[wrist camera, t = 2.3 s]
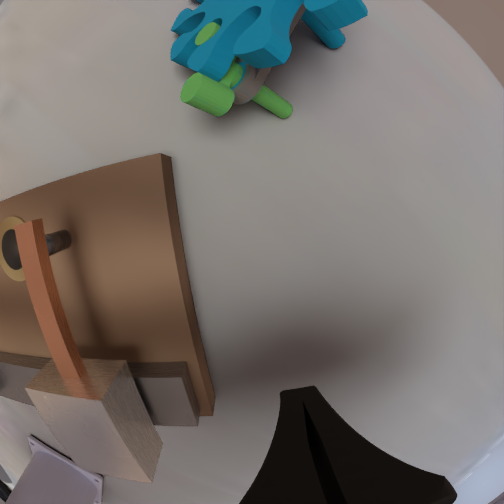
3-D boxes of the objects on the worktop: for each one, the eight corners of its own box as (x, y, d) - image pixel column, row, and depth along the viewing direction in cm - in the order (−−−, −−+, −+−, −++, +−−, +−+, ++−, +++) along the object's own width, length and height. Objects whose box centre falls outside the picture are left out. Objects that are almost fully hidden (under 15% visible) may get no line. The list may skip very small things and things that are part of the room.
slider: (166, 431, 12) (152, 483, 8) (101, 424, 12) (79, 468, 8) (99, 205, 9) (41, 215, 6) (29, 223, 9) (-27, 238, 6)
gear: (231, -71, 7) (412, -108, 1) (298, -17, 11) (460, -4, 5) (121, 87, 10) (272, 125, 4) (217, 124, 15) (380, 199, 9)
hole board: (215, 396, 14) (212, 418, 12) (-20, 370, 14) (-31, 379, 12) (170, 157, 11) (158, 152, 9) (-62, 235, 11) (-76, 240, 9)
